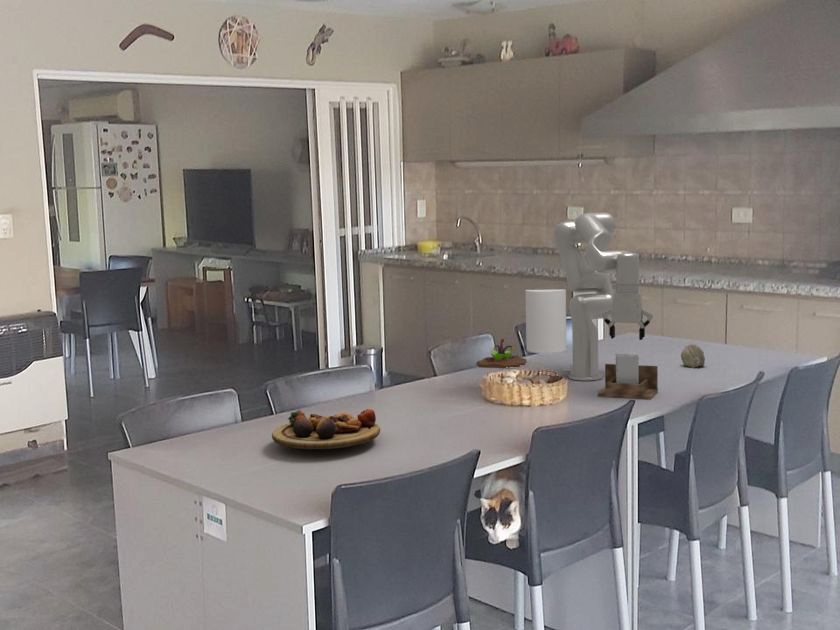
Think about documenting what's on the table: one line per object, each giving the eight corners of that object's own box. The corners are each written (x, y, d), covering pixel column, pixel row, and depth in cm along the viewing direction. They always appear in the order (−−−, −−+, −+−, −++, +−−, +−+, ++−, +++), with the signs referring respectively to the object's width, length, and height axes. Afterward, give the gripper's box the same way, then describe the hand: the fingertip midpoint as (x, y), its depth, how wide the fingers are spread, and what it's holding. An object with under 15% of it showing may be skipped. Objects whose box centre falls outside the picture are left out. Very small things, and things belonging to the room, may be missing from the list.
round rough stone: (707, 370, 376) (707, 345, 375) (684, 371, 376) (684, 345, 375) (700, 366, 385) (700, 341, 384) (678, 367, 386) (678, 342, 384)
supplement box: (637, 388, 341) (637, 352, 339) (638, 392, 333) (638, 356, 332) (615, 388, 342) (615, 352, 340) (616, 392, 334) (616, 356, 333)
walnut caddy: (597, 396, 335) (597, 370, 334) (606, 389, 347) (606, 363, 346) (650, 399, 328) (650, 372, 327) (657, 391, 340) (657, 365, 338)
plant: (533, 363, 406) (532, 336, 405) (518, 371, 389) (518, 343, 387) (487, 361, 414) (486, 335, 413) (471, 369, 397) (470, 342, 395)
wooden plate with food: (382, 423, 307) (381, 397, 306) (378, 449, 276) (377, 420, 275) (280, 426, 307) (278, 400, 306) (264, 452, 275) (263, 423, 274)
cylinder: (565, 357, 417) (564, 291, 414) (524, 356, 421) (523, 291, 417) (567, 350, 434) (566, 287, 431) (528, 350, 438) (527, 288, 434)
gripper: (599, 289, 333) (599, 339, 335) (651, 291, 326) (650, 341, 329) (604, 287, 340) (604, 335, 342) (655, 288, 333) (654, 338, 335)
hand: (626, 338), depth 335 cm, fingers open, 9 cm apart
